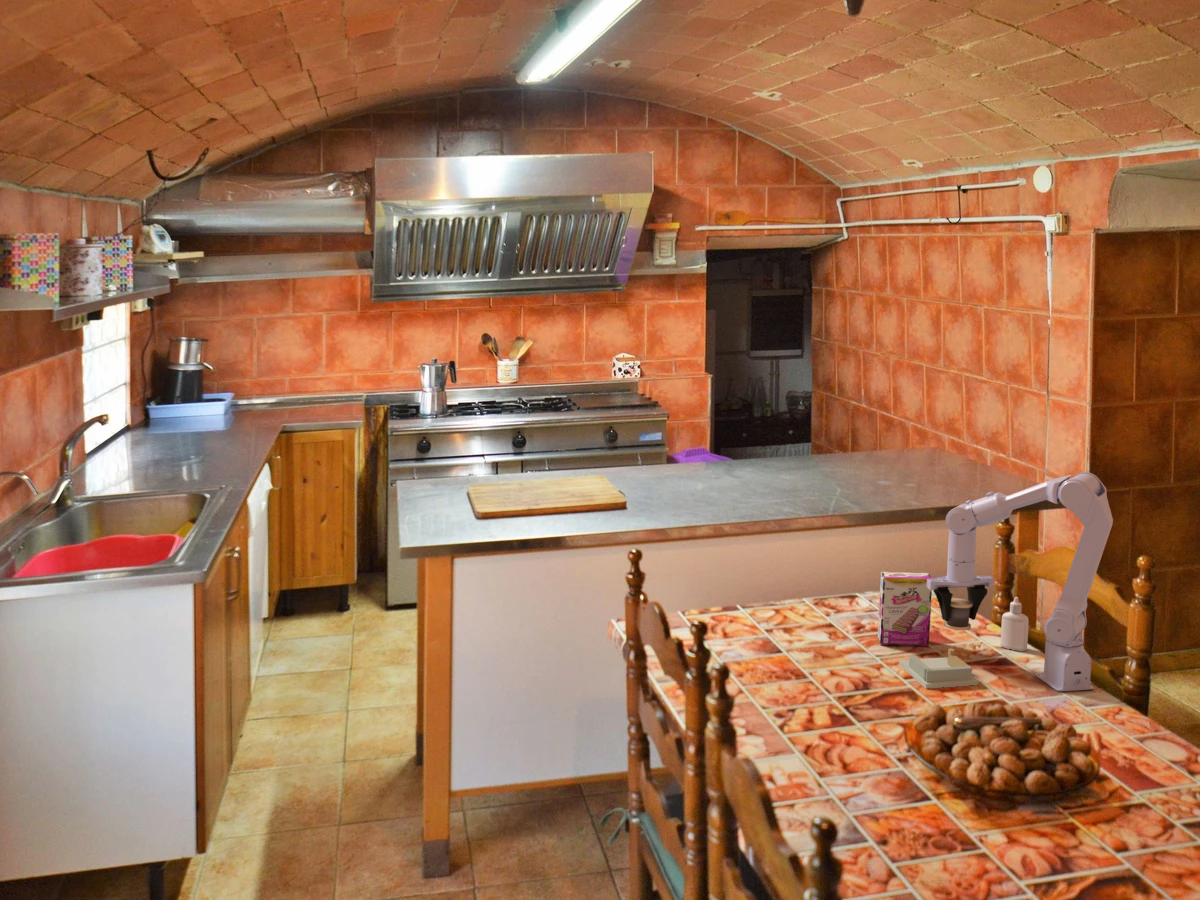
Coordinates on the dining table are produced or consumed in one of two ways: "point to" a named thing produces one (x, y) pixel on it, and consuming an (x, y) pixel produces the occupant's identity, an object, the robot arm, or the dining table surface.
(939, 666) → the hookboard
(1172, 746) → the dining table surface
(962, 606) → the spool
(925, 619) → the candy bar box
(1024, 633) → the eye dropper bottle
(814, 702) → the dining table surface
